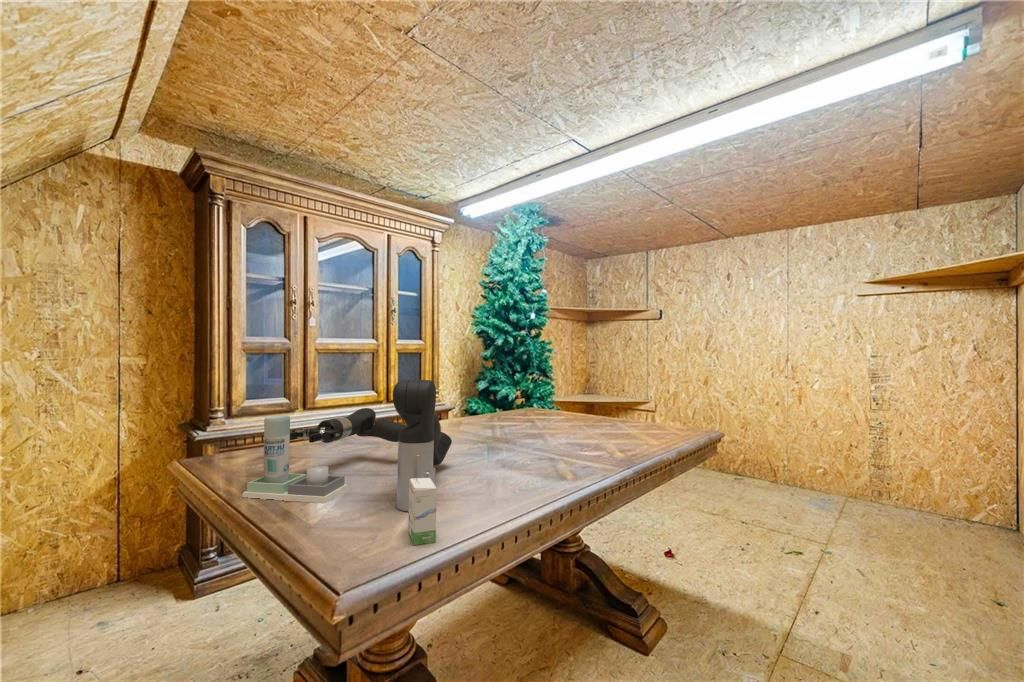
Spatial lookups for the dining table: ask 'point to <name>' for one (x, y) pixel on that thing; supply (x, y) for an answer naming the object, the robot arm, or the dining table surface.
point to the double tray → (300, 487)
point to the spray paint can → (276, 449)
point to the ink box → (422, 510)
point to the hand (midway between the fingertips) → (298, 438)
